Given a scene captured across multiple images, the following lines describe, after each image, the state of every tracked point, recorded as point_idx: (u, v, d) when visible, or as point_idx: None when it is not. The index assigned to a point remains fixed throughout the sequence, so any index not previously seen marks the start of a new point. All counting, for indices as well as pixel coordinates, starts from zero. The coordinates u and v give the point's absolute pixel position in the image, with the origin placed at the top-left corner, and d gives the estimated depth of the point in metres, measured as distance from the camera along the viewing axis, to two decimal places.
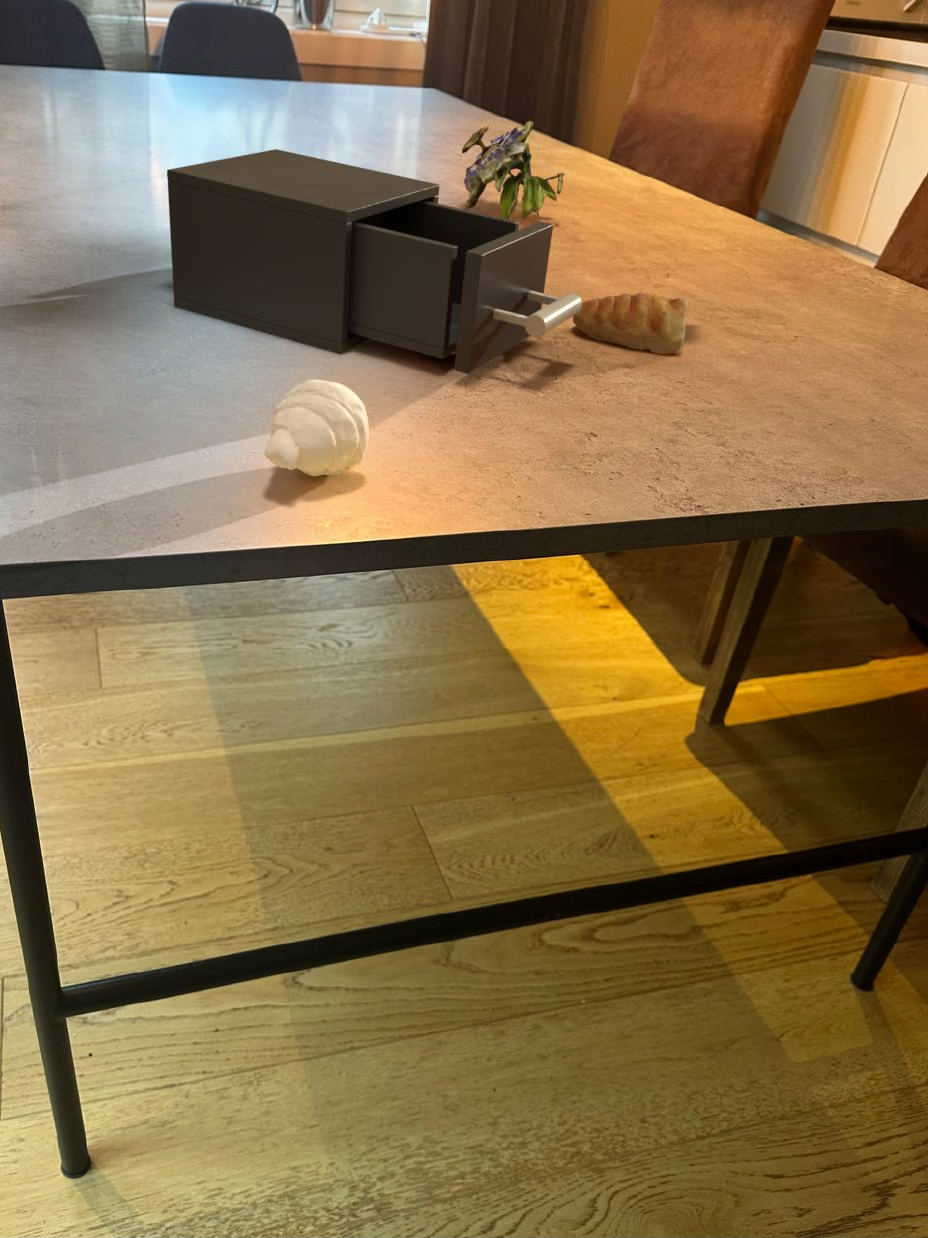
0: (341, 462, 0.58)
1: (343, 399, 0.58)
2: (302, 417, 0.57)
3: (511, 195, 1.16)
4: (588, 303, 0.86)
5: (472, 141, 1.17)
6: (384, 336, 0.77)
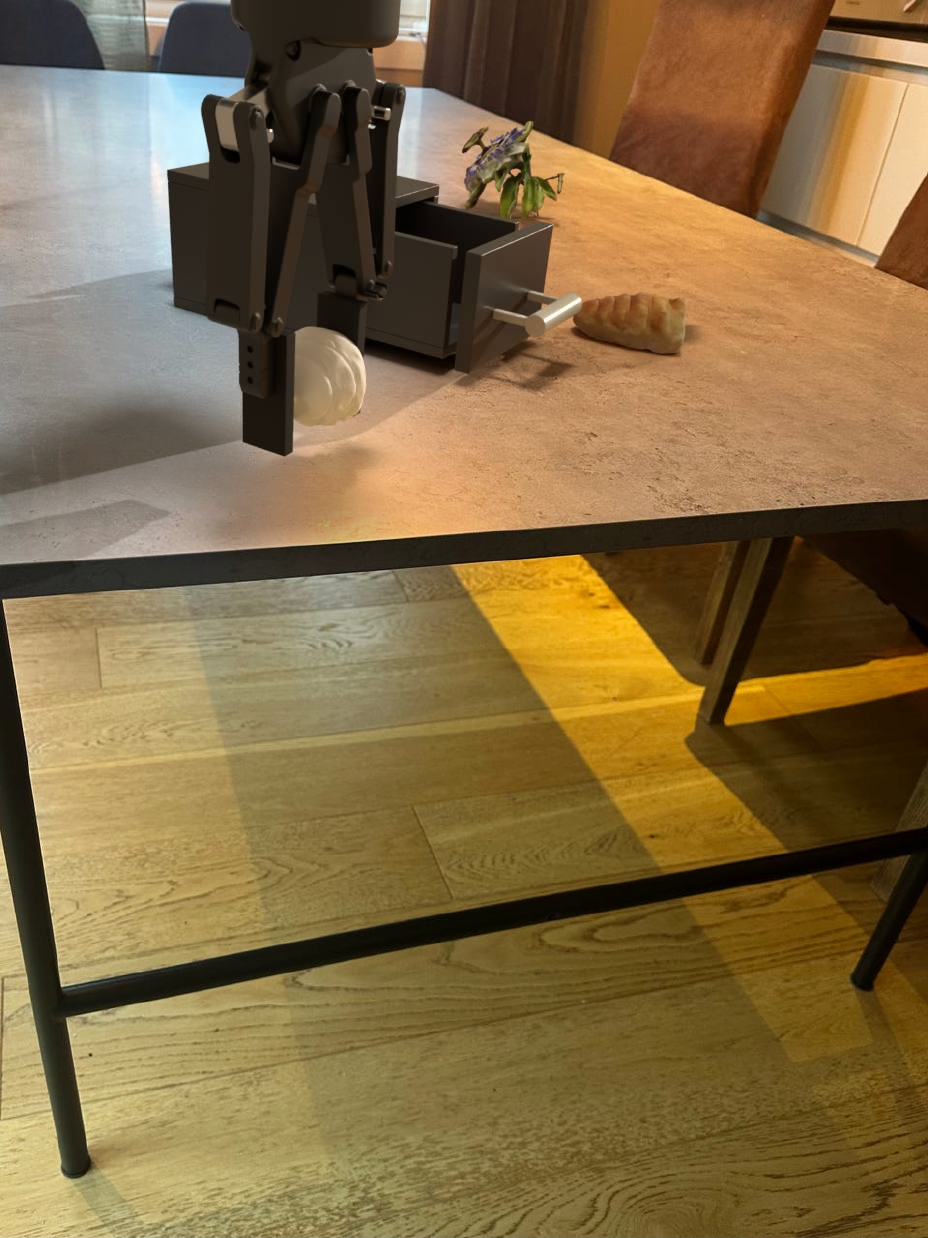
0: (337, 411, 0.57)
1: (340, 346, 0.56)
2: (297, 364, 0.55)
3: (511, 195, 1.16)
4: (588, 303, 0.86)
5: (472, 141, 1.17)
6: (384, 336, 0.77)
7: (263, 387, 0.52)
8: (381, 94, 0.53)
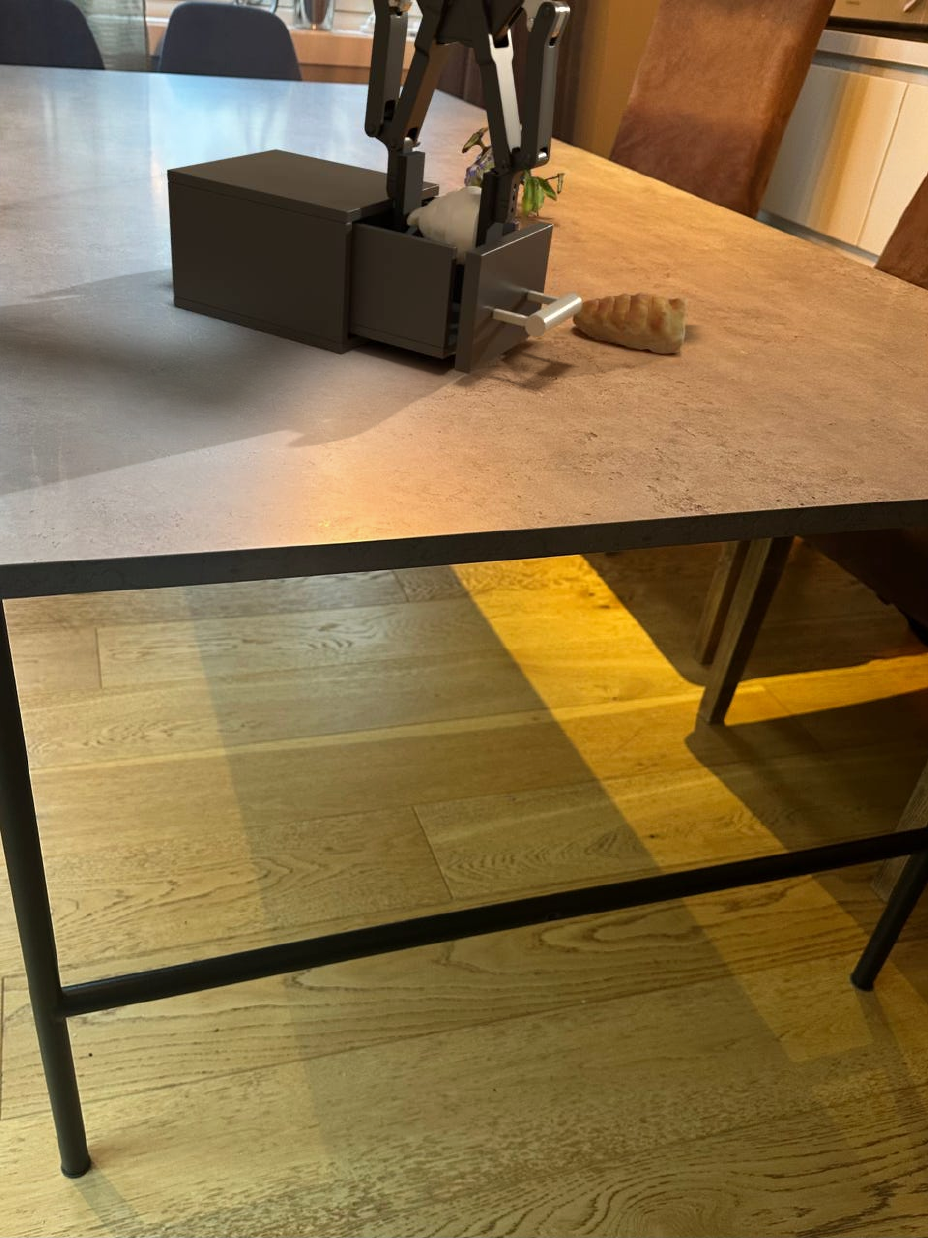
0: (434, 240, 0.75)
1: (457, 195, 0.73)
2: (438, 197, 0.75)
3: None
4: (588, 303, 0.86)
5: (472, 141, 1.17)
6: (384, 336, 0.77)
7: (389, 188, 0.76)
8: None
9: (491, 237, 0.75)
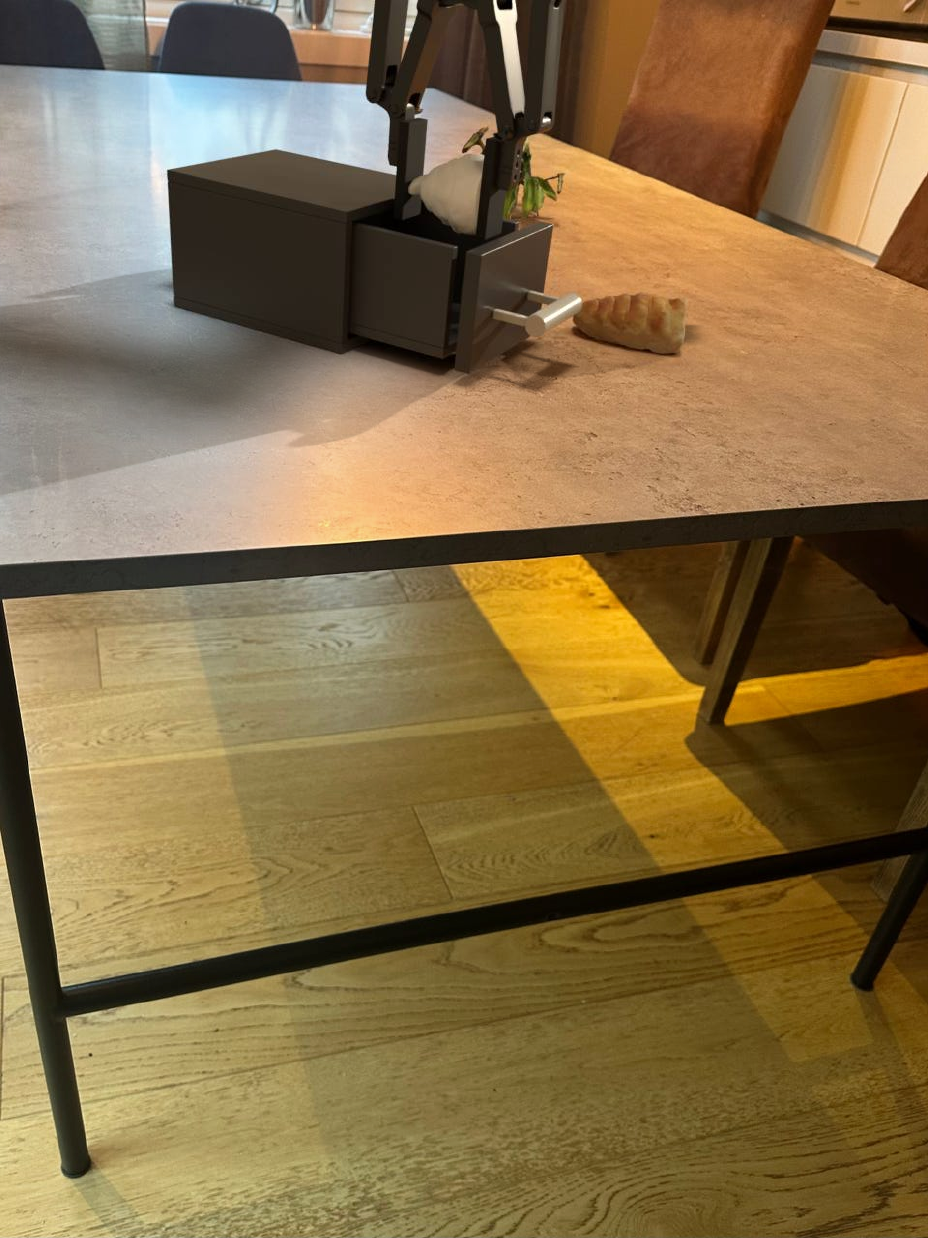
0: (436, 208, 0.74)
1: (459, 162, 0.72)
2: (440, 165, 0.74)
3: (511, 195, 1.16)
4: (588, 303, 0.86)
5: (472, 141, 1.17)
6: (384, 336, 0.77)
7: (390, 156, 0.75)
8: None
9: (494, 205, 0.74)
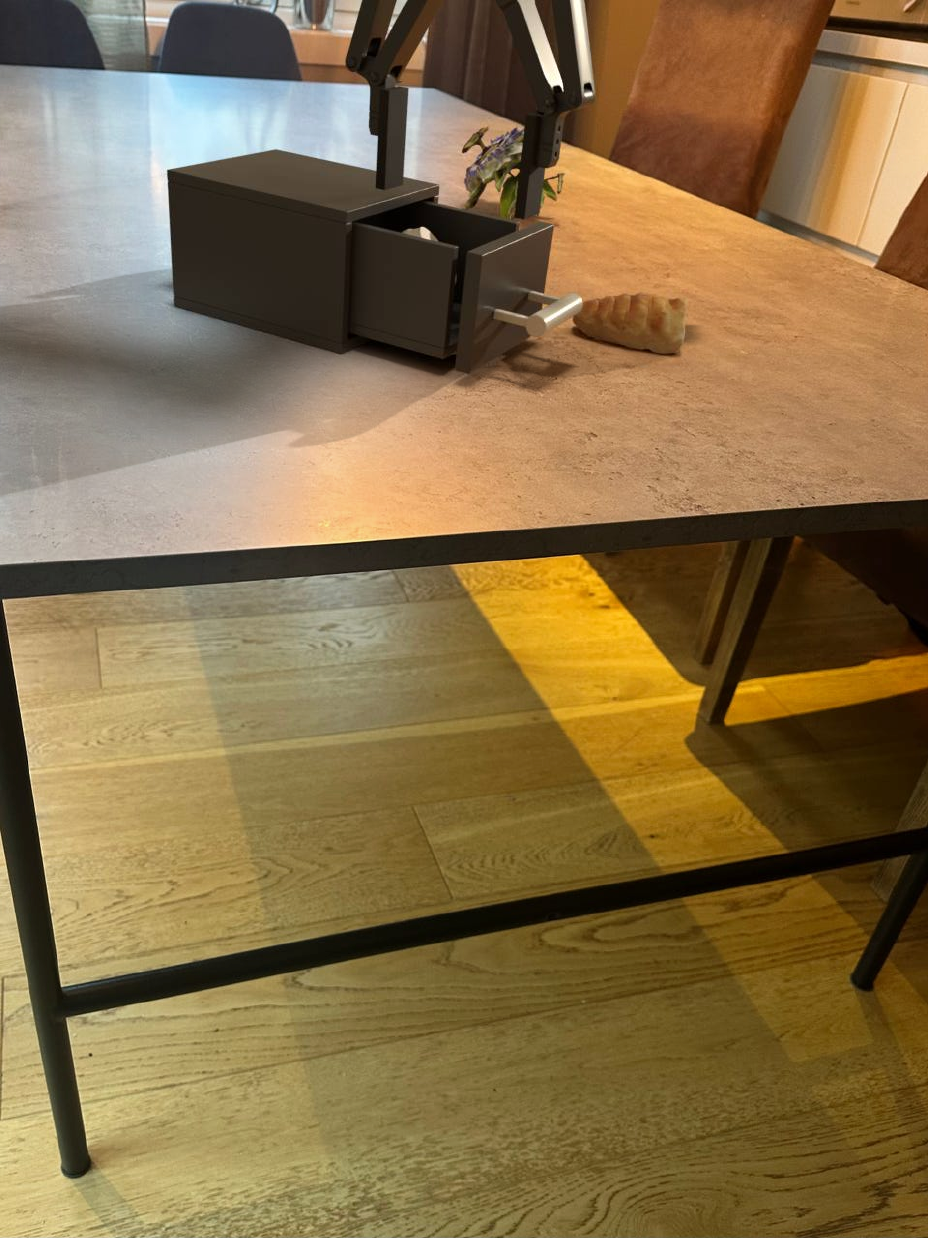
0: None
1: None
2: None
3: (511, 195, 1.16)
4: (588, 303, 0.86)
5: (472, 141, 1.17)
6: (385, 336, 0.77)
7: (371, 125, 0.75)
8: None
9: (533, 183, 0.72)
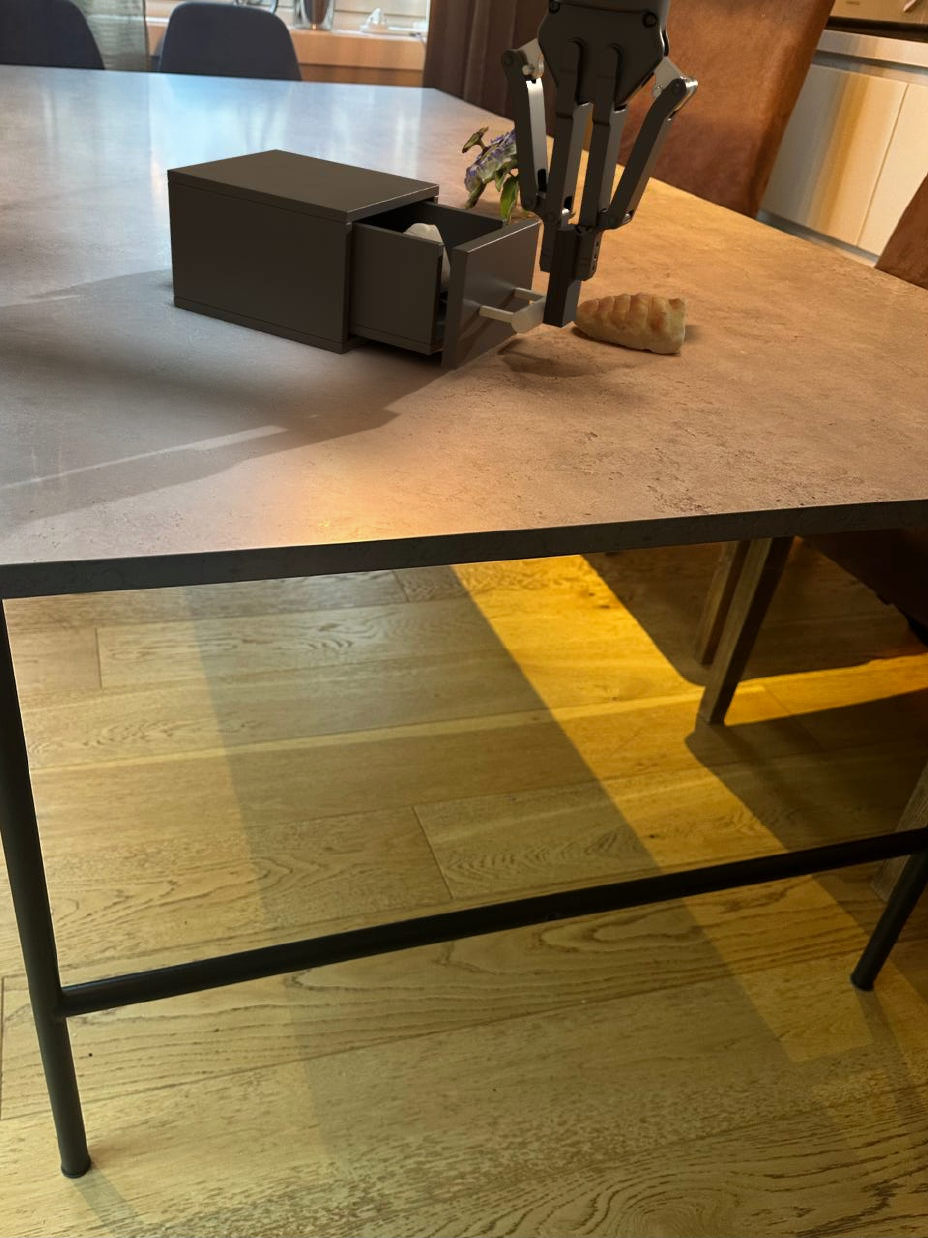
0: None
1: (411, 228, 0.79)
2: None
3: (511, 195, 1.16)
4: (588, 303, 0.86)
5: (472, 141, 1.17)
6: (372, 333, 0.77)
7: (542, 262, 0.74)
8: None
9: (571, 294, 0.74)
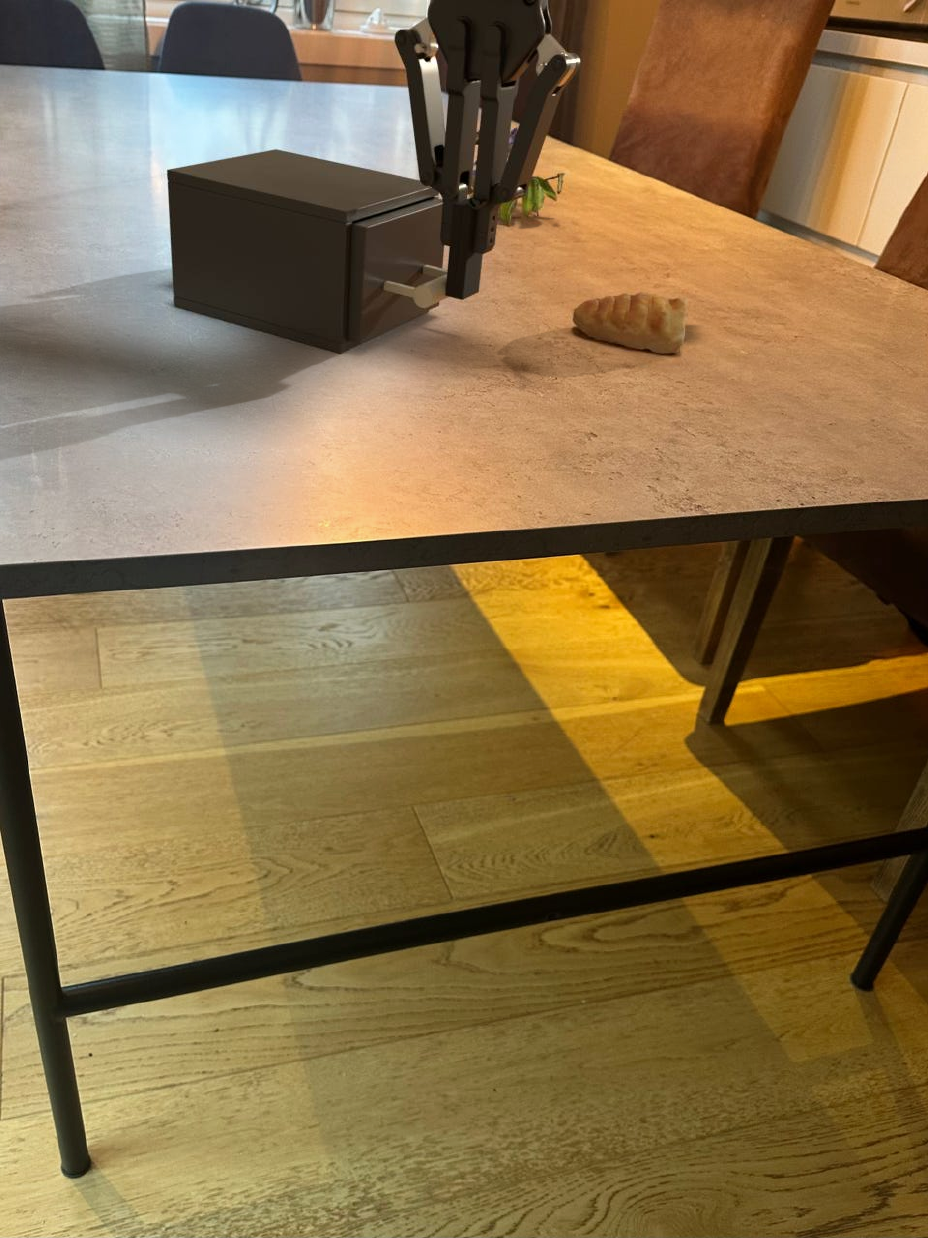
0: None
1: None
2: None
3: None
4: (588, 303, 0.86)
5: None
6: None
7: (442, 236, 0.76)
8: None
9: (471, 267, 0.76)
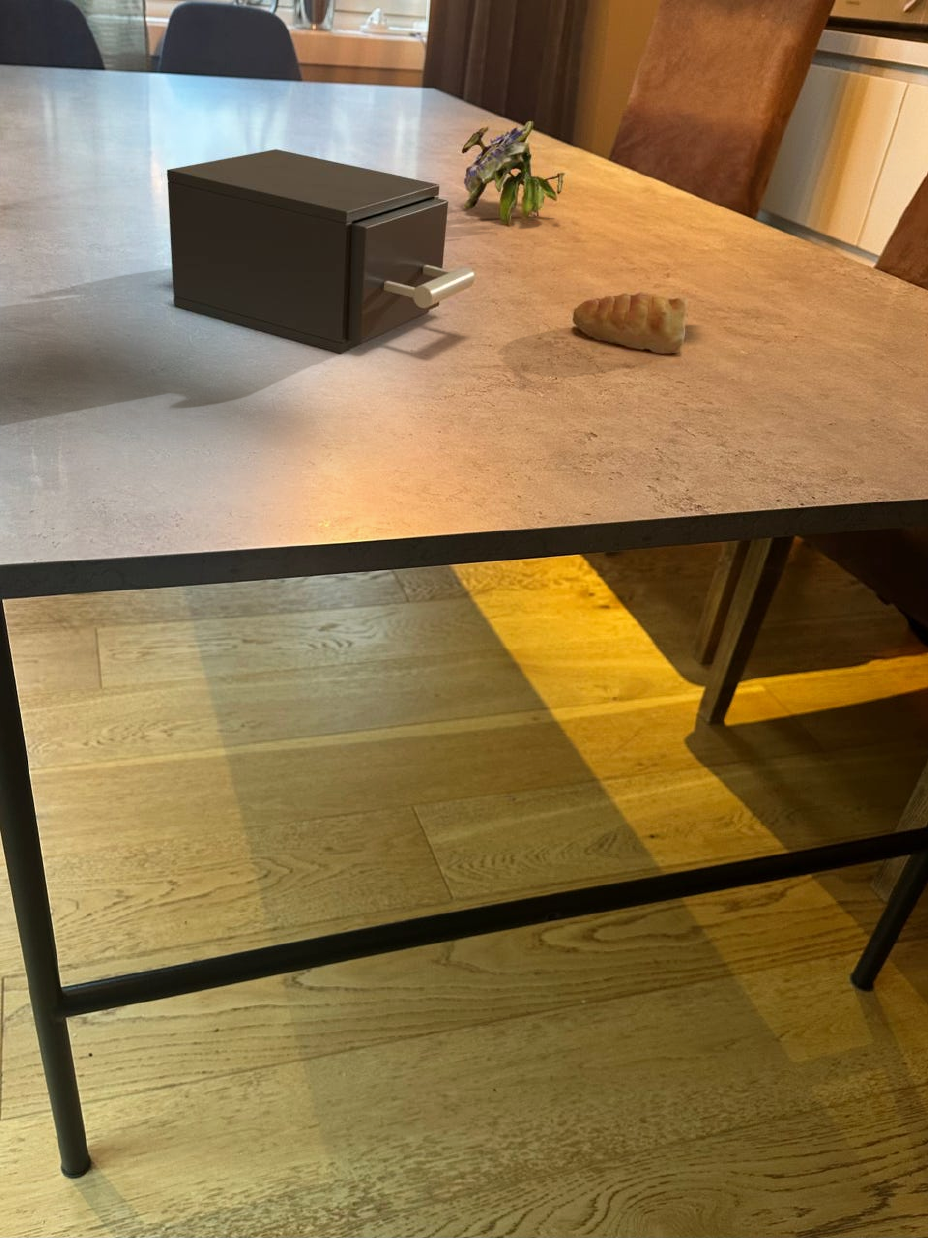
0: None
1: None
2: None
3: (511, 195, 1.16)
4: (588, 303, 0.86)
5: (472, 141, 1.17)
6: None
7: None
8: None
9: None
